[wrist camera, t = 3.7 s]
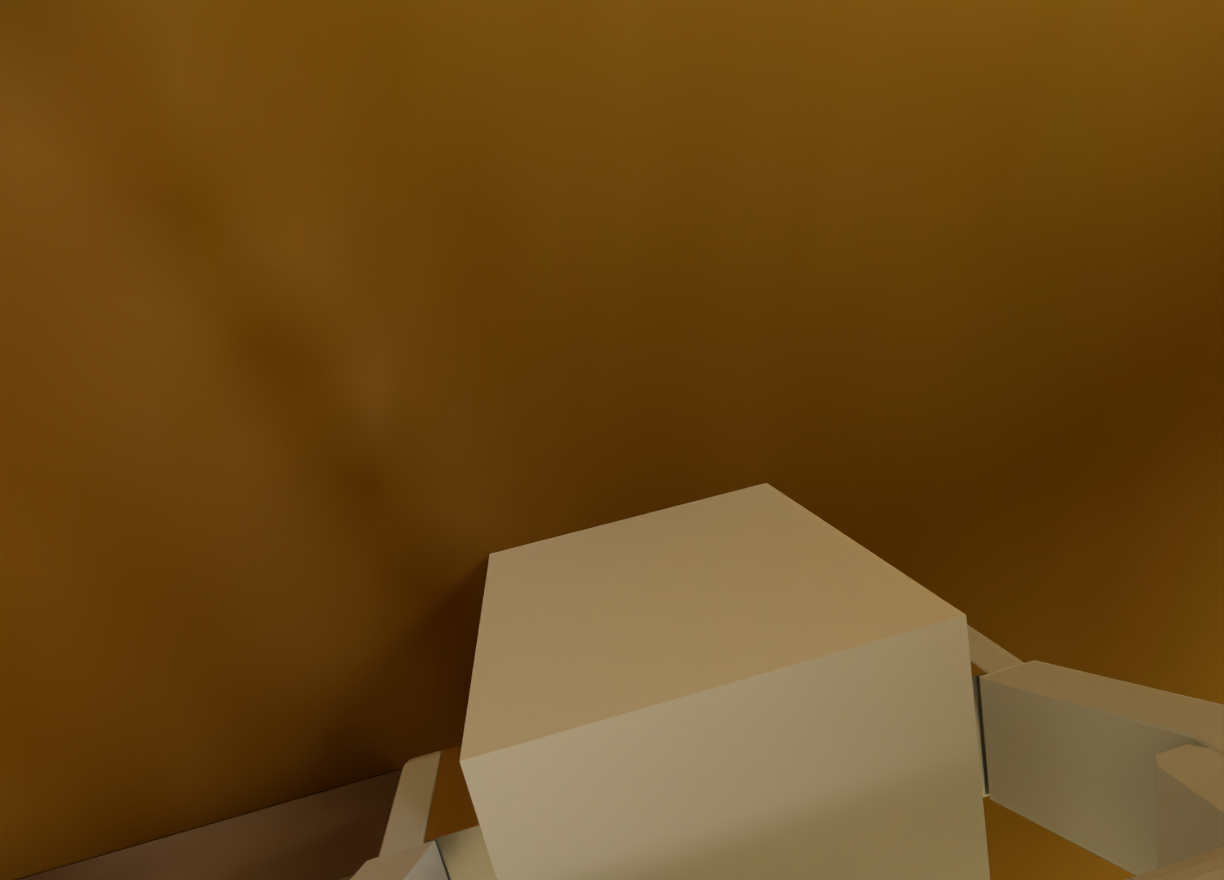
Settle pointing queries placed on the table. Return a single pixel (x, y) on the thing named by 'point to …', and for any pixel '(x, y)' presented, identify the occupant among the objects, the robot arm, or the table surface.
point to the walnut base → (262, 842)
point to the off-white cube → (721, 706)
